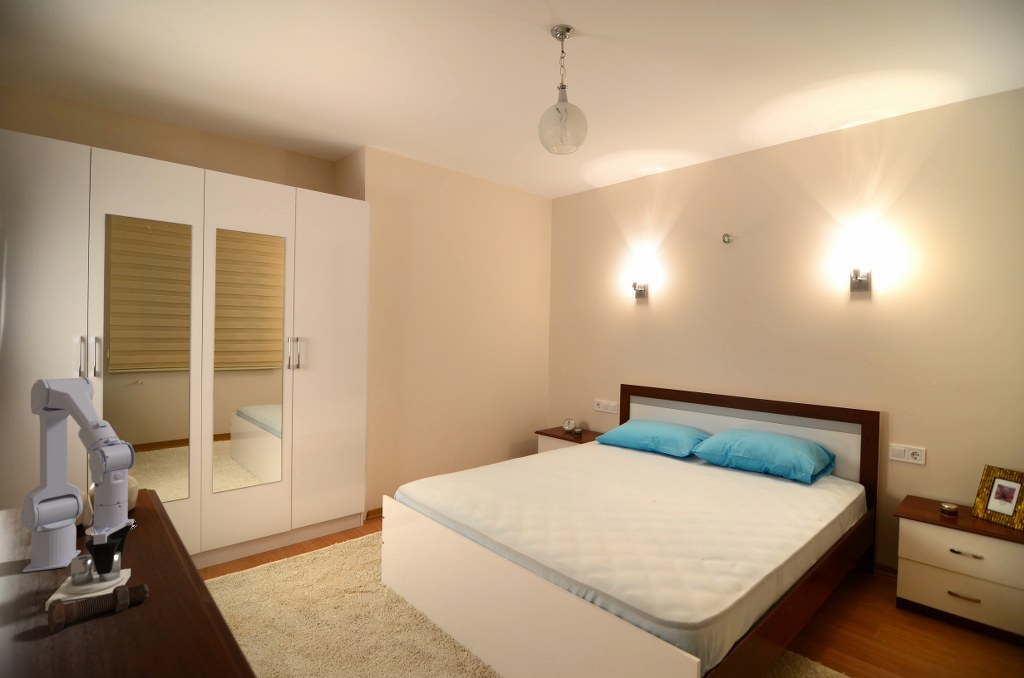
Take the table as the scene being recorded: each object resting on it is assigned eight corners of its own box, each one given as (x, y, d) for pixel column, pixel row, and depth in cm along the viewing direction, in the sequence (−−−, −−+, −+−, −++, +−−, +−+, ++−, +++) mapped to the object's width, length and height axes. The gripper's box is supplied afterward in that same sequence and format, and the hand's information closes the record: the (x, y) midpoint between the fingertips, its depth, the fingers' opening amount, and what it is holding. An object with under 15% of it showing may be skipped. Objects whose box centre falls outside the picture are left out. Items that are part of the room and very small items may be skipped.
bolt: (147, 611, 106) (49, 640, 94) (141, 591, 109) (46, 618, 97) (153, 590, 104) (54, 618, 93) (147, 571, 107) (50, 595, 95)
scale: (69, 584, 112) (69, 573, 112) (131, 575, 117) (131, 564, 117) (44, 612, 101) (44, 599, 101) (114, 601, 105) (114, 589, 105)
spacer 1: (74, 579, 110) (75, 555, 110) (95, 576, 111) (96, 553, 111) (68, 587, 106) (68, 562, 106) (89, 584, 108) (90, 559, 108)
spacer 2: (102, 575, 111) (102, 552, 111) (122, 573, 113) (122, 549, 113) (96, 583, 108) (96, 558, 108) (117, 580, 110) (117, 556, 110)
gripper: (124, 510, 105) (123, 577, 105) (142, 490, 119) (141, 550, 119) (80, 514, 103) (79, 583, 103) (104, 493, 116) (103, 554, 116)
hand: (110, 565), depth 110 cm, fingers open, 7 cm apart
